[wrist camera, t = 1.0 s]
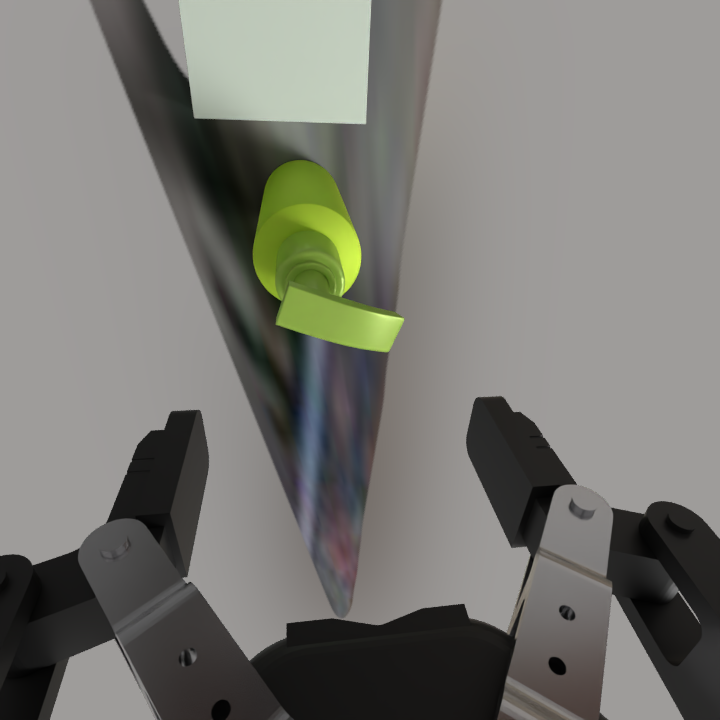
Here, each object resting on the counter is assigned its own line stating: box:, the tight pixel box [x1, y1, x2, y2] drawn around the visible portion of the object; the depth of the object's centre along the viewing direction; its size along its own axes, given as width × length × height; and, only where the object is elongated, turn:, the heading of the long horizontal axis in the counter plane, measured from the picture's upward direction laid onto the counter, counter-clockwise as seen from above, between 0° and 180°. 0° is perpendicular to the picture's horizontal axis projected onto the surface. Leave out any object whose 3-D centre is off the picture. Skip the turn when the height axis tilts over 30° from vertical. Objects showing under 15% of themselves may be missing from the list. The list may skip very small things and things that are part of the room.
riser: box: [178, 0, 371, 124], centre depth 28 cm, size 10×11×4 cm
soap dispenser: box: [253, 160, 404, 352], centre depth 28 cm, size 6×7×20 cm
